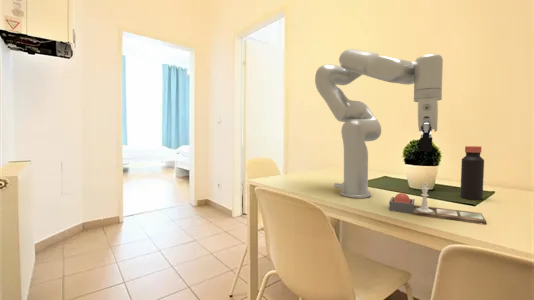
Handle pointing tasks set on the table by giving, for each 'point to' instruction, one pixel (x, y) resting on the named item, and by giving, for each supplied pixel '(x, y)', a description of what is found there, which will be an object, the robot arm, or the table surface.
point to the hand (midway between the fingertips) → (426, 150)
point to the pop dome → (402, 198)
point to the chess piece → (424, 201)
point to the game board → (453, 215)
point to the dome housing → (401, 206)
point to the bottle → (472, 174)
